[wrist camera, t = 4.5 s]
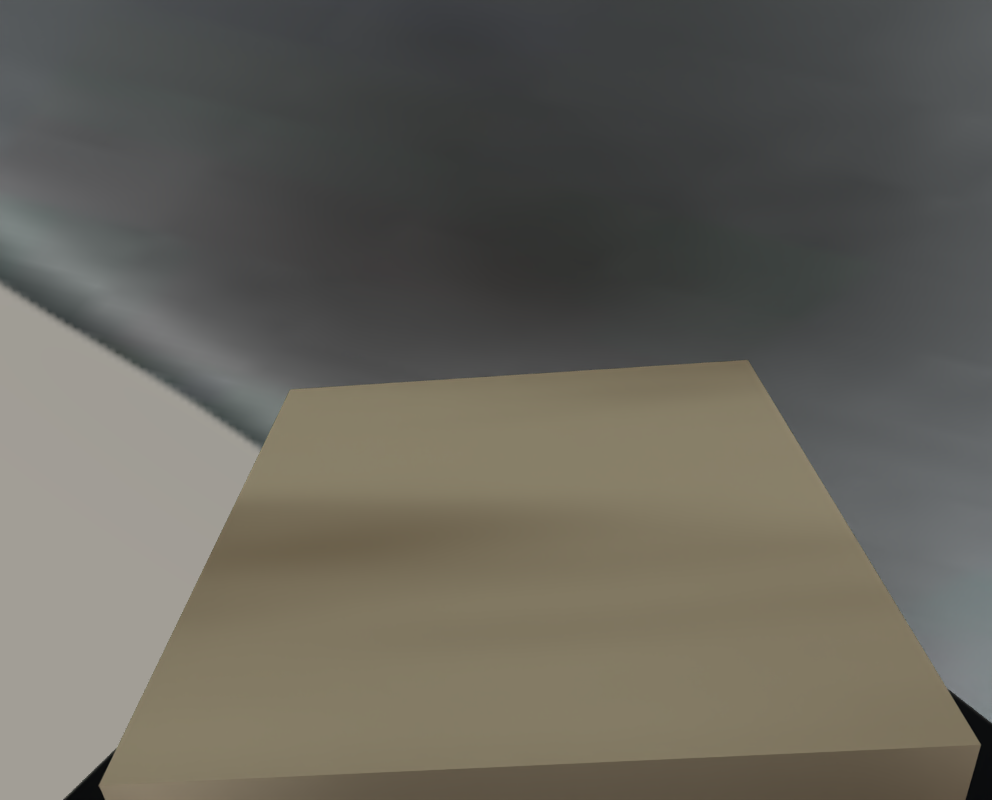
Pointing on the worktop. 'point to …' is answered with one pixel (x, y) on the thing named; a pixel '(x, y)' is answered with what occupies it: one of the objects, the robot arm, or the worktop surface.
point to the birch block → (541, 610)
